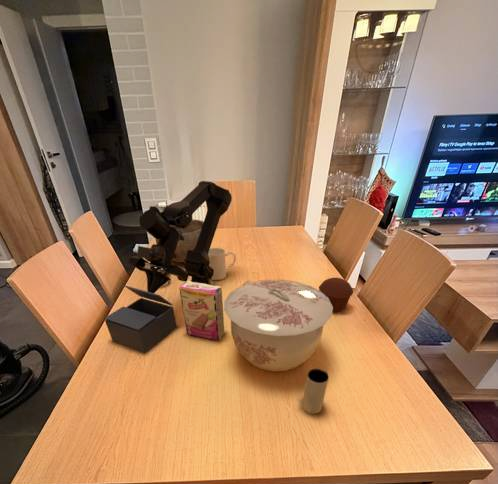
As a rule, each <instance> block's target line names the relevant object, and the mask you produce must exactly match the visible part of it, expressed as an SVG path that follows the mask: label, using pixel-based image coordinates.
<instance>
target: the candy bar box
mask: <svg viewBox="0 0 498 484" xmlns="http://www.w3.org/2000/svg"><path fill="white" fill-rule="evenodd" d="M178 289H179V293H180V294H179V295H180V299H181V300H180V301H181V306H182V313H183V318H184V323H185V324H184V325H185V329H186V330H185V331H186V334H187V335H189V336H194V337H199V338H202V339H207V340H212V341H217V342H219V341H220V340H221V339H222V337H223V336H224V335H225V319H224V304H223V287H222V286H219V285H215V284H211V285H209V284H203V283H198V282H192V281H191V280H187V281H186V282H184V283H182V285H180V287H178Z"/></svg>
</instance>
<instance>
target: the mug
mask: <svg viewBox="0 0 498 484" xmlns="http://www.w3.org/2000/svg"><path fill="white" fill-rule="evenodd" d="M229 255H233V261H232V263H231V264H230V265H229V266H227V264H226V263H227V262H226V257H227V256H229ZM208 256H209V261H210V264H209V266H210V267H211V268H212V269H213V270H214V274H213V276H212V279H210V281H211V280H212V281H221V280H223V279H226V278H227V271H228V270H229V269H231V268H232V267H233V266H234V265H235V263H236V261H237V256H236V253H235V252H234V251H229V252H227V253H226V251H225V249H224V248H220V247H210V249H209V252H208Z"/></svg>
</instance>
